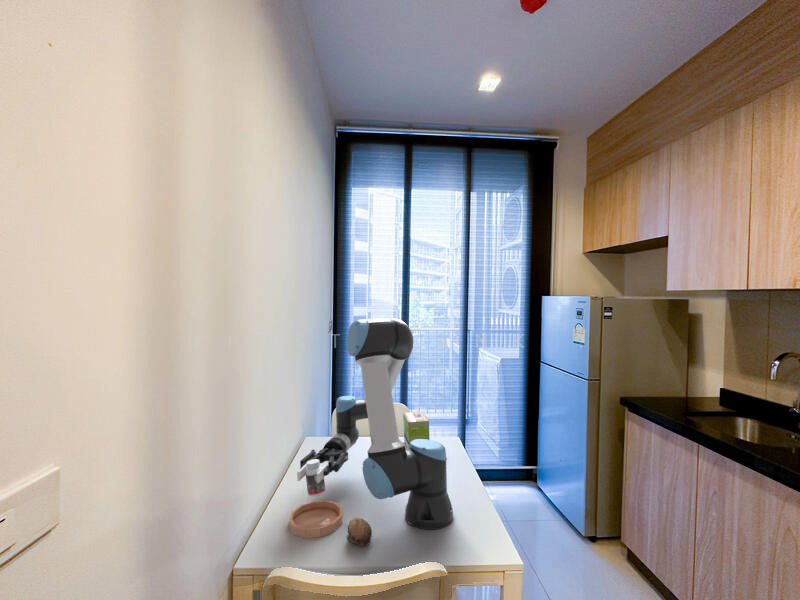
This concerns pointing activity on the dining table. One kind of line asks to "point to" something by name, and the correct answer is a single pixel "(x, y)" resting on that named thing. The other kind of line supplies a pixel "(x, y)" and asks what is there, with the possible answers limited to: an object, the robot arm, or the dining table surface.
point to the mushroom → (359, 532)
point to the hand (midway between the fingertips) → (308, 477)
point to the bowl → (316, 519)
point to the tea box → (415, 427)
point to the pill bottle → (314, 479)
